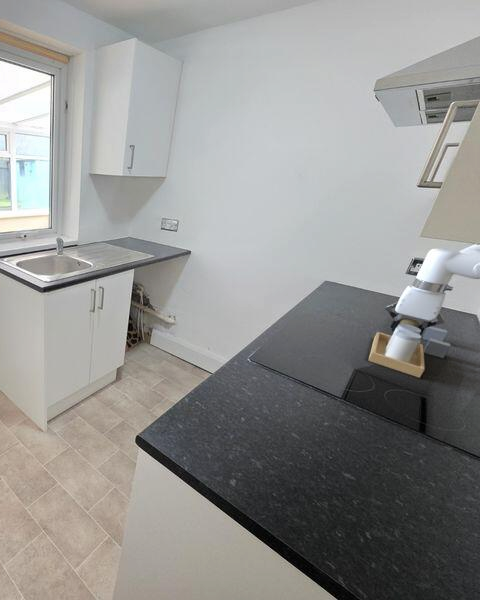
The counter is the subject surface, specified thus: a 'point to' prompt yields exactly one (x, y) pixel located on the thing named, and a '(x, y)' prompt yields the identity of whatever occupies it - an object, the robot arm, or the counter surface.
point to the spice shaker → (403, 327)
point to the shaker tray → (412, 368)
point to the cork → (408, 322)
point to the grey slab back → (434, 334)
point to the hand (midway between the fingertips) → (404, 332)
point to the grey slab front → (436, 348)
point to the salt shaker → (403, 345)
